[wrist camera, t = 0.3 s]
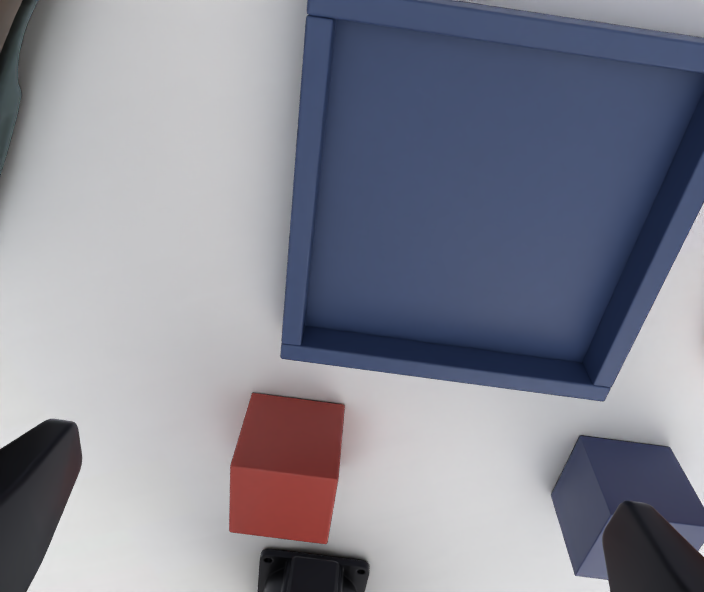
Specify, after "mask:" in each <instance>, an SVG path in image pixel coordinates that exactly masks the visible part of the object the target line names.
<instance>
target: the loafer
mask: <svg viewBox="0 0 704 592" xmlns="http://www.w3.org/2000/svg"><path fill="white" fill-rule="evenodd" d="M37 2H38V0H0V176H1V172H2V169H3V166H4V162H5V159H6V156H7V152H8V149H9V145H10V141H11V137H12V134H13V130H14V126H15V123H16V119H17V115H18V110H19V105H20V100H21V97H22V93H21V89H20V86H19V83H18V61H19V53H20V49H21V45H22V41H23V37H24V33H25V30H26V27H27V24H28V21H29V19H30V17H31V15H32V13H33V10H34V8H35V6H36V4H37Z"/></svg>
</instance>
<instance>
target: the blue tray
mask: <svg viewBox="0 0 704 592" xmlns="http://www.w3.org/2000/svg"><path fill="white" fill-rule="evenodd" d="M307 14H309V15H307V17H306V25H305V39H304V52H303V65H302V78H301V91H300V104H299V117H298V131H297V144H296V157H295V170H294V183H293V196H292V210H291V223H290V236H289V249H288V262H287V275H286V289H285V302H284V315H283V328H282V344H281V355H280V357H281V358H282V359H288V360H295V361H303V362H310V363H318V364H325V365H333V366H340V367H348V368H355V369H363V370H370V371H378V372H385V373H393V374H401V375H408V376H416V377H423V378H431V379H438V380H446V381H453V382H461V383H468V384H476V385H483V386H491V387H498V388H506V389H513V390H521V391H528V392H536V393H543V394H551V395H559V396H566V397H574V398H581V399H589V400H596V401H605V399H606V397H607V395H608V393H609V391H610V387H612V385H613V383H614V381H615V379H616V377H617V375H618V373H619V371H620V369H621V367H622V365H623V363H624V361H625V359H626V357H627V355H628V353H629V351H630V349H631V347H632V345H633V343H634V341H635V339H636V337H637V335H638V333H639V331H640V329H641V327H642V325H643V323H644V321H645V319H646V317H647V315H648V313H649V311H650V309H651V307H652V305H653V303H654V301H655V299H656V297H657V295H658V293H659V291H660V289H661V287H662V285H663V283H664V281H665V279H666V277H667V275H668V273H669V271H670V269H671V267H672V265H673V263H674V261H675V259H676V257H677V255H678V253H679V251H680V249H681V247H682V245H683V243H684V241H685V239H686V237H687V235H688V233H689V231H690V229H691V227H692V225H693V223H694V221H695V219H696V217H697V215H698V213H699V211H700V209H701V207H702V205H703V203H704V38H701V37H695V36H688V35H681V34H675V33H668V32H661V31H655V30H648V29H641V28H635V27H628V26H621V25H615V24H608V23H601V22H595V21H588V20H581V19H575V18H568V17H561V16H555V15H548V14H541V13H535V12H528V11H521V10H515V9H508V8H501V7H495V6H488V5H481V4H475V3H468V2H461V1H455V0H307Z"/></svg>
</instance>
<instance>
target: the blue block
mask: <svg viewBox="0 0 704 592" xmlns="http://www.w3.org/2000/svg"><path fill="white" fill-rule="evenodd" d="M551 497H552V500H553V503H554V507H555V510H556V514H557V517H558V520H559V524H560V527H561V530H562V534H563V537H564V540H565V544H566V547H567V550H568V554H569V557H570V560H571V564H572V567H573V570H574V574H575V576H582V577H590V578H598V579H606V580H608V575H607V569H606V563H605V557H604V551H603V545H602V536H603V532H604V529H605V527H606V526H607V524H608V522H609V521H610V519H611V517H612V516H613V514H614V512H615V511H616V509H617V508H618V506H619V504H620V503H622V502H623V501H635V502H642V503H647V504H649V505H651V506H652V507H653V508H654V509H656V510H657V511H658V512H659V513H660V514H661V515H662V516H663V517H664V518H665V519H666V520H667V521H668V522H669V523H670V524H671V525H672V526H673V527H674V528H675V529H676V530H677V531H678V532H679V533H680V534H681V535H682V536H683V537H684V538H685V539H686V540H687V541H688V542H689V543H690V544H691V545H692V546H693V547H694V548H695V549H696V550H697V551H698V550H699V549H700V547H701V546H702V545H703V544H704V507H703V505H702V503H701V501H700V500H699V498H698V496H697V494H696V493H695V491H694V489H693V487H692V485H691V484H690V482H689V480H688V478H687V477H686V475H685V473H684V471H683V470H682V468H681V466H680V464H679V462H678V461H677V459H676V457H675V455H674V454H673V452H672V450H671V448H670V447H664V446H657V445H649V444H641V443H634V442H626V441H619V440H611V439H603V438H596V437H588V436H580V437H579V439H578V441H577V443H576V445H575V447H574V449H573V451H572V453H571V455H570V457H569V459H568V461H567V463H566V465H565V467H564V469H563V471H562V473H561V476H560V478H559V480H558V482H557V484H556V486H555V488H554V490H553V492H552V494H551Z"/></svg>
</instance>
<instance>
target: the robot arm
mask: <svg viewBox="0 0 704 592" xmlns="http://www.w3.org/2000/svg"><path fill="white" fill-rule="evenodd" d="M81 464H82V451H81V445H80V438H79V431H78V427H77V425H76V423H75V422H72V421H66V420H59V419H48V420H46V421H44V422H42V423H41V424H39V425H37V426H36V427H34V428H33V429H31V430H30V431H28V432H26V433H25V434H23V435H22V436H20V437H19V438H17V439H15V440H14V441H12V442H11V443H9V444H7V445H6V446H4V447H3V448H1V449H0V592H26V591H27V590H28V588H29V586H30V584H31V582H32V580H33V578H34V577H35V575H36V573H37V571H38V569H39V567H40V565H41V563H42V561H43V558H44V556H45V554H46V552H47V549H48V547H49V545H50V542H51V540H52V537H53V535H54V532H55V530H56V528H57V525H58V523H59V520H60V518H61V515H62V513H63V511H64V508H65V506H66V503H67V501H68V498H69V496H70V494H71V491H72V489H73V486H74V484H75V481H76V479H77V477H78V474H79V472H80V469H81ZM602 545H603V551H604V557H605V563H606V569H607V575H608V580H609V586H610V592H704V557H703V556H702V555H701V554H700V553H699V552H698V551H697V550H696V549H695V548H694V547H693V546H692V545H691V544H690V543H689V542H688V541H687V540H686V539H685V538H684V537H683V536H682V535H681V534H680V533H679V532H678V531H677V530H676V529H675V528H674V527H673V526H672V525H671V524H670V523H669V522H668V521H667V520H666V519H665V518H664V517H663V516H662V515H661V514H660V513H659V512H658V511H657V510H656V509H654V508H653V507H652V506H651V505H649V504H647V503H642V502H635V501H623V502H622V503H620V504H619V506H618V508H617V509H616V511H615V512H614V514H613V516H612V517H611V519H610V521H609V522H608V524H607V526H606V527H605V529H604V532H603V536H602ZM368 576H369V564H368V563H367V562H366V561H362V560H354V559H346V558H337V557H329V556H321V555H313V554H305V553H297V552H289V551H281V550H273V549H265V550H263V551H262V552H261V557H260V566H259V581H258V592H365V588H366V584H367V580H368Z"/></svg>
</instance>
